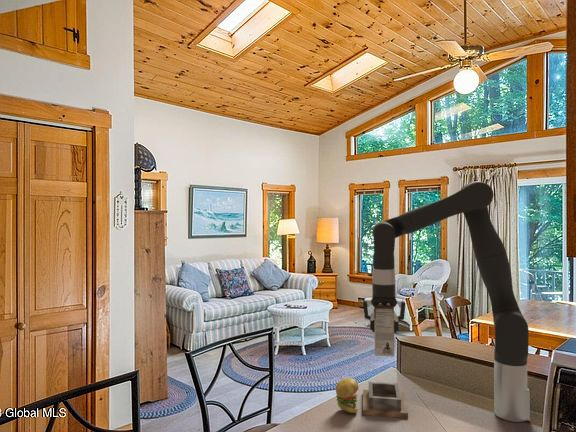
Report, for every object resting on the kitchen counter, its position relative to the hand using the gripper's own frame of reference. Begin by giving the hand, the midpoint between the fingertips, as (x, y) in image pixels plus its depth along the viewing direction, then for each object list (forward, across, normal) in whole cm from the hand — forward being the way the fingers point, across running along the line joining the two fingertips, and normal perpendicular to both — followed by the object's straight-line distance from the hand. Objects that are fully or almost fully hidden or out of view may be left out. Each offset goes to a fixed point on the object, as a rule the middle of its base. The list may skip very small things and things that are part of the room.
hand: (384, 331), depth 143 cm
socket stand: (+25, 0, 0) cm, 25 cm away
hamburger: (+25, +12, +7) cm, 29 cm away
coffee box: (+7, 0, 0) cm, 7 cm away
